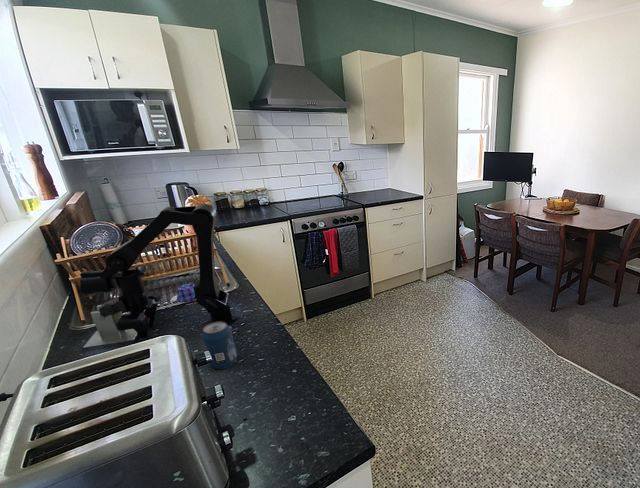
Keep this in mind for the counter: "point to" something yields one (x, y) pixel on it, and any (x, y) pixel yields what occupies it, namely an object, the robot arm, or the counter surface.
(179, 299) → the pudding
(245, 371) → the counter surface
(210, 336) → the soda can
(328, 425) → the counter surface
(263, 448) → the counter surface
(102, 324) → the switch bracket
